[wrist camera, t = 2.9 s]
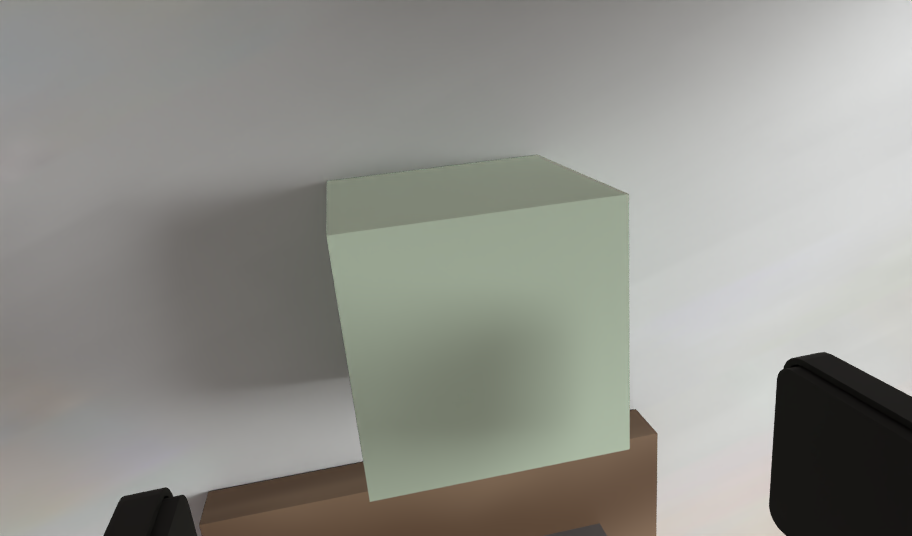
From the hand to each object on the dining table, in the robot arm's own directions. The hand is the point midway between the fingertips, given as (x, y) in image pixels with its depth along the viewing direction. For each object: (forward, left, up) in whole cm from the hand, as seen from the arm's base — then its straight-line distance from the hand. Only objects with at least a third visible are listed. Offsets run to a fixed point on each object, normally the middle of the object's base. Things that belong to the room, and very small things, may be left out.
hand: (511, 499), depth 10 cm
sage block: (-1, +1, -10) cm, 10 cm away
